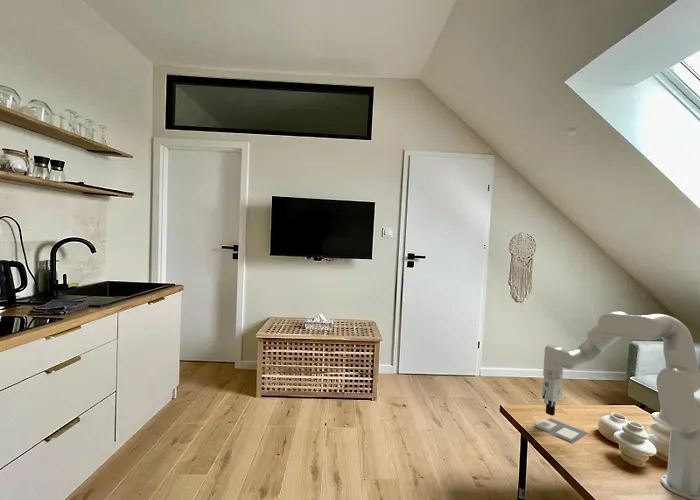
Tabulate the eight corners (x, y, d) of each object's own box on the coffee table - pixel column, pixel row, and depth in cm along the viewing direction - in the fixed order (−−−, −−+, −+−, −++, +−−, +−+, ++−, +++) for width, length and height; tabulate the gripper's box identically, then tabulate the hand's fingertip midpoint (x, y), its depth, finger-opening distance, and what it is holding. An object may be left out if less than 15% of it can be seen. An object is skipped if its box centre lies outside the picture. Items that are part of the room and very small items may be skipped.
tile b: (557, 424, 166) (548, 429, 161) (557, 427, 166) (548, 432, 161) (543, 418, 171) (534, 423, 166) (543, 421, 171) (534, 426, 166)
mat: (588, 434, 162) (588, 433, 162) (572, 445, 152) (572, 443, 152) (550, 419, 175) (550, 418, 175) (533, 428, 165) (533, 427, 165)
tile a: (579, 433, 159) (571, 438, 154) (579, 436, 159) (570, 441, 154) (564, 427, 163) (556, 432, 159) (564, 430, 163) (555, 435, 159)
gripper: (553, 379, 159) (550, 421, 160) (569, 373, 168) (566, 413, 169) (535, 373, 165) (533, 414, 166) (552, 368, 174) (549, 407, 175)
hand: (550, 414), depth 168 cm, fingers closed
